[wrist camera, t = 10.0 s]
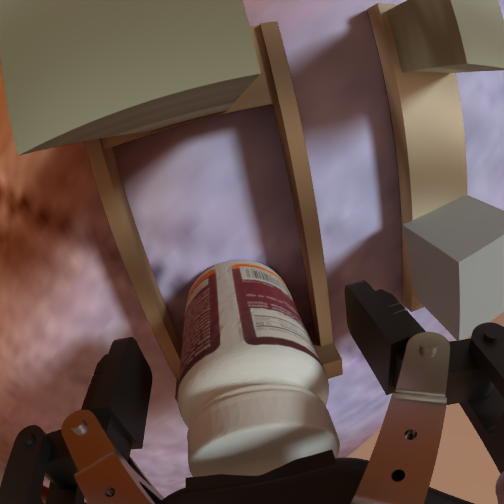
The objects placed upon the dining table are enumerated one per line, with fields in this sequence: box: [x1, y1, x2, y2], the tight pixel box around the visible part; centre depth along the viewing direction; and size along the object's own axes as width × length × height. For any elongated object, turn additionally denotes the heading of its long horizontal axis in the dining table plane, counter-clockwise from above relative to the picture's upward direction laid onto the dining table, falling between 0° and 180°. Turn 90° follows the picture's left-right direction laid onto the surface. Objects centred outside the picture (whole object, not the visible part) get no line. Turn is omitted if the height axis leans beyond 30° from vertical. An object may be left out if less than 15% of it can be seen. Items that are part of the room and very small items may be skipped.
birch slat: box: [367, 0, 504, 312], centre depth 11 cm, size 14×4×5 cm, turn 13°
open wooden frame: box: [0, 0, 343, 402], centre depth 9 cm, size 14×8×9 cm, turn 13°
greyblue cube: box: [402, 195, 504, 341], centre depth 12 cm, size 4×4×4 cm
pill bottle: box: [178, 260, 340, 477], centre depth 11 cm, size 5×5×8 cm
